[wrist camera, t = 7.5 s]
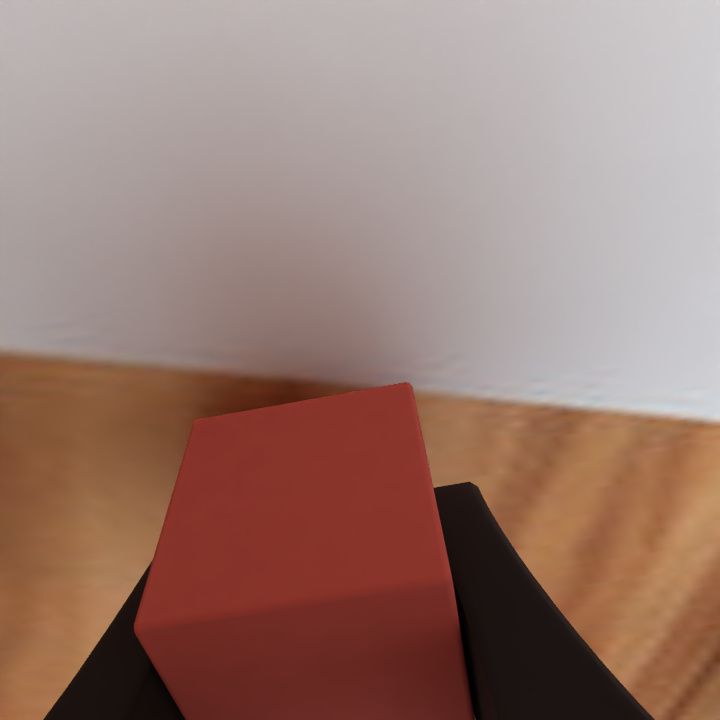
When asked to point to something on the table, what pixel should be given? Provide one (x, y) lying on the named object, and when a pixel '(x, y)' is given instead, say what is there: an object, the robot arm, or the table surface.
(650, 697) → the table surface
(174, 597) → the brick red cuboid
